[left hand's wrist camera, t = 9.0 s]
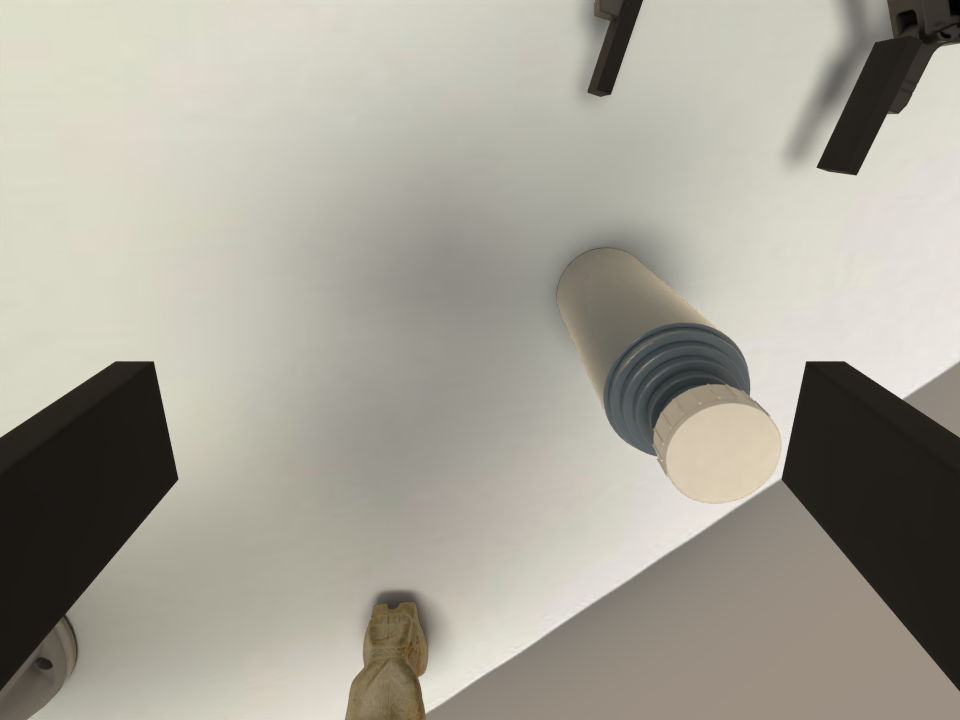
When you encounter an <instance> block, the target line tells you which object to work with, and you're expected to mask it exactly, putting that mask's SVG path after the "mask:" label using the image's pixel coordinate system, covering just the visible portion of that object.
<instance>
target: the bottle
mask: <svg viewBox="0 0 960 720" xmlns="http://www.w3.org/2000/svg"><path fill="white" fill-rule="evenodd" d="M557 304H558V308H559V311H560V313H561V316H562V318H563V320H564V322H565V324H566V327H567V329H568V331H569V333H570V336H571V338H572V340H573V342H574V345H575V347H576V349H577V351H578V353H579V356H580V358H581V360H582V362H583V365H584V367H585V369H586V371H587V374H588V376H589V378H590V380H591V382H592V385H593V387H594V389H595V391H596V394H597V396H598V398H599V400H600V402H601V405H602V407H603V409H604V411H605V414H606V416H607V418H608V420H609V422H610V424H611V426H612V428H613V429H614V431H615V432H616V433H617V434H618V435H619V436H620V437H621V438H622V439H623V440H624V441H625V442H627V443H628V444H630V445H631V446H633V447H635V448H637V449H639V450H641V451H643V452H645V453H647V454H650V455H653V456H657V454H656V451H655V449H654V447H653V444H654V430H653V429H654V428H655V426H656V423H657V420H658V418H659V416H660V413H661V412H663V410H664V409H665V408H666V406H667V405H668V404H669V403H670V402H671V401H672V399H675V398H676V397H677V396H679V395H680V394H682V393H684V392H686V391H688V389H692V388H695V387H699V386H703V385H707V384H710V385H712V384H717V385H725V384H727V385H728V386H730V387H733V388H736V389H738V390H740V391H742V390H743V391H745V392H746V393H747V394H748V395H749V396H750V379H749V372H748V367H747V364H746V361H745V358H744V356H743V354H742V352H741V351H740V349H739V348H738V347H737V345H736V344H735V343H734V342H733V341H732V340H731V339H730V338H729V337H728V336H727V335H726V334H724V333H723V332H722V331H721V330H720V329H718V328H717V327H716V326H715V325H714V324H712V323H711V322H710V321H709V320H708V319H707V318H705V317H704V316H703V315H702V314H701V313H699V312H698V311H697V310H696V309H695V308H694V307H692V306H691V305H690V304H689V303H688V302H686V301H685V300H684V299H683V298H682V297H681V296H679V295H678V294H677V293H676V292H675V291H673V290H672V289H671V288H670V287H669V286H667V285H666V284H665V283H664V282H663V281H662V280H660V279H659V278H658V277H657V276H656V275H654V274H653V273H652V272H651V271H650V270H649V269H647V268H646V267H645V266H644V265H643V264H641V263H640V262H639V261H638V260H637V259H636V258H634V257H633V256H631V255H630V254H628V253H626V252H624V251H622V250H619V249H614V248H599V249H594V250H591V251H588V252H586V253H584V254H582V255H580V256H579V257H577V258H576V259H575V260H573V261H572V262H571V263H570V264H569V265H568V267H567V268H566V269H565V271H564V272H563V274H562V276H561V278H560V281H559V284H558V288H557Z"/></svg>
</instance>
